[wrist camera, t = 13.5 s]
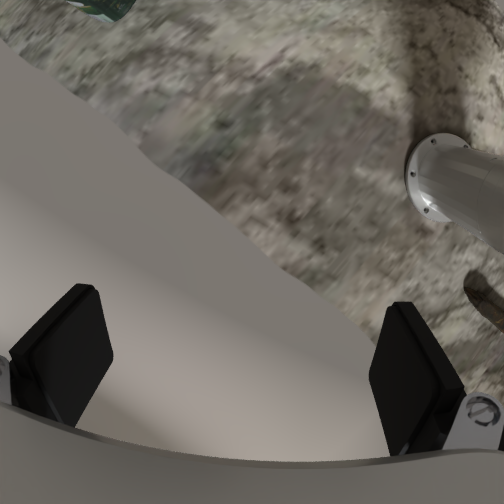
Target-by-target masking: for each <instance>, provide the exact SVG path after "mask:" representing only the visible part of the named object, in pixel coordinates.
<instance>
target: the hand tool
mask: <svg viewBox="0 0 504 504" xmlns="http://www.w3.org/2000/svg"><path fill="white" fill-rule="evenodd" d="M464 291H465V294H466V295H467V297H468V299H469V301H470V302H471V303H472V304H473V306H474V307H475V308H476V309H477V311H479V312H480V313H481V315H482V316H484V317H485V318H487V319H488V320H489V321H490V322H491V323H492V324H494V325H495V326H496V327H497V328H498V329H499V330H501V331H502V332H503V333H504V311H502V310H501V309H500V308H499V307H498V306H496V305H495V304H494V303H493V302H492V301H490V300H489V299H488V298H487V297H486V296H485V295H483V294H482V293H480V292H478V291H476V290H473V289H470V288H466V287H464Z"/></svg>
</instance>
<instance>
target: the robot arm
mask: <svg viewBox="0 0 504 504" xmlns="http://www.w3.org/2000/svg"><path fill="white" fill-rule="evenodd" d="M431 140H432V143H431ZM411 172H412V174H411V175H410V173H411ZM405 180H406V188H407V193H408V195H409V198H410V200H411V202H412V204H413V205H414V207H415V208H416V209H417V210H418V211H419V212H420V213H421V214H422V215H424V216H425V217H427V218H428V219H430V220H433V221H436V222H451V221H453V222H455V223H457V224H458V225H460V226H461V227H463V228H464V229H466V230H467V231H469V232H470V233H472V234H473V235H475V236H476V237H478V238H479V239H481V240H482V241H483V242H485V243H486V244H488V245H489V246H491V247H492V248H494V249H495V250H497V251H498V252H500V253H502V254H504V156H501V155H497V154H493V153H488V152H484V151H479V150H474V149H472V148H471V147H470V145H469V144H468V143H467V142H465V141H464V140H463V139H461V138H460V137H458V136H456V135H453V134H449V133H436V134H432V135H429V136H428V137H426V138H424V139H423V140H422V141H420V142H419V143H418V144H417V146H416V147H415V148H414V149H413V151H412V153H411V155H410V157H409V160H408V163H407V166H406V174H405ZM424 208H425V210H424ZM9 353H10V355H11V357H12V360H11V361H10V362H9V361H8V360H7V359H6V358H5V357H3V356H1V355H0V504H504V409H503V406H502V405H501V404H500V402H499V401H498V400H497V399H495V398H494V397H492V396H491V395H489V394H485V393H482V392H474V393H471V394H468V395H466V393H465V391H464V385H463V383H462V381H461V380H460V378H459V376H458V374H457V373H456V371H455V369H454V368H453V366H452V364H451V363H450V361H449V359H448V358H447V356H446V354H445V353H444V351H443V349H442V348H441V346H440V345H439V343H438V341H437V340H436V338H435V337H434V335H433V333H432V332H431V330H430V329H429V327H428V326H427V324H426V323H425V321H424V319H423V318H422V316H421V315H420V313H419V312H418V310H417V309H416V307H415V306H414V304H413V303H412V302H394V303H393V304H392V306H389V307H388V308H387V310H386V314H385V318H384V321H383V325H382V329H381V333H380V336H379V340H378V343H377V347H376V350H375V354H374V357H373V360H372V363H371V367H370V370H369V382H370V385H371V388H372V392H373V395H374V398H375V402H376V405H377V409H378V412H379V416H380V419H381V423H382V427H383V430H384V434H385V438H386V441H387V445H388V449H389V453H390V457H381V458H370V459H359V460H345V461H321V462H278V461H276V462H275V461H255V460H240V459H228V458H218V457H209V456H202V455H194V454H187V453H181V452H175V451H169V450H163V449H158V448H153V447H148V446H143V445H138V444H134V443H129V442H125V441H120V440H117V439H113V438H108V437H105V436H102V435H98V434H94V433H91V432H87V431H84V430H81V429H77V428H75V426H76V424H77V422H78V420H79V419H80V417H81V415H82V413H83V411H84V410H85V408H86V406H87V404H88V403H89V401H90V399H91V397H92V396H93V394H94V392H95V391H96V389H97V387H98V385H99V384H100V382H101V380H102V379H103V377H104V375H105V374H106V372H107V370H108V368H109V367H110V365H111V363H112V361H113V350H112V347H111V343H110V339H109V335H108V331H107V327H106V322H105V318H104V314H103V309H102V305H101V300H100V295H99V292H98V291H97V290H95V288H94V286H93V285H88V284H76V285H74V286H73V287H72V288H71V289H70V290H69V291H68V292H67V293H66V294H65V295H64V296H63V297H62V298H61V299H60V300H59V301H57V302H56V304H54V305H53V306H52V307H51V308H50V309H49V310H48V311H47V312H46V314H44V315H43V316H42V317H41V318H40V319H39V320H38V321H37V322H36V323H35V324H34V325H33V326H32V327H31V328H30V329H29V330H28V331H27V332H26V334H25V335H24V336H23V337H22V338H21V339H20V340H19V341H18V342H17V343H16V344H15V345H14V346H13V347H12V348H11V349H10V350H9Z"/></svg>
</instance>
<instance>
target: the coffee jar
mask: <svg viewBox="0 0 504 504" xmlns="http://www.w3.org/2000/svg"><path fill="white" fill-rule="evenodd" d="M65 1H67V2H69V3H70V4H72V5H73V6H75V7H76V8H78V9H79V10H81V11H82V12H83V13H85V14H87V15H88V16H90V17H92V18H94V19H96V20H99V21H103V22H115V21H117V20H119V19H121V18H122V17H123V16H124V15H125V14H126V13H127V12H128V11H129V9H130V8H131V7H132V5H133V4H134V3H135V1H136V0H65Z"/></svg>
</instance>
